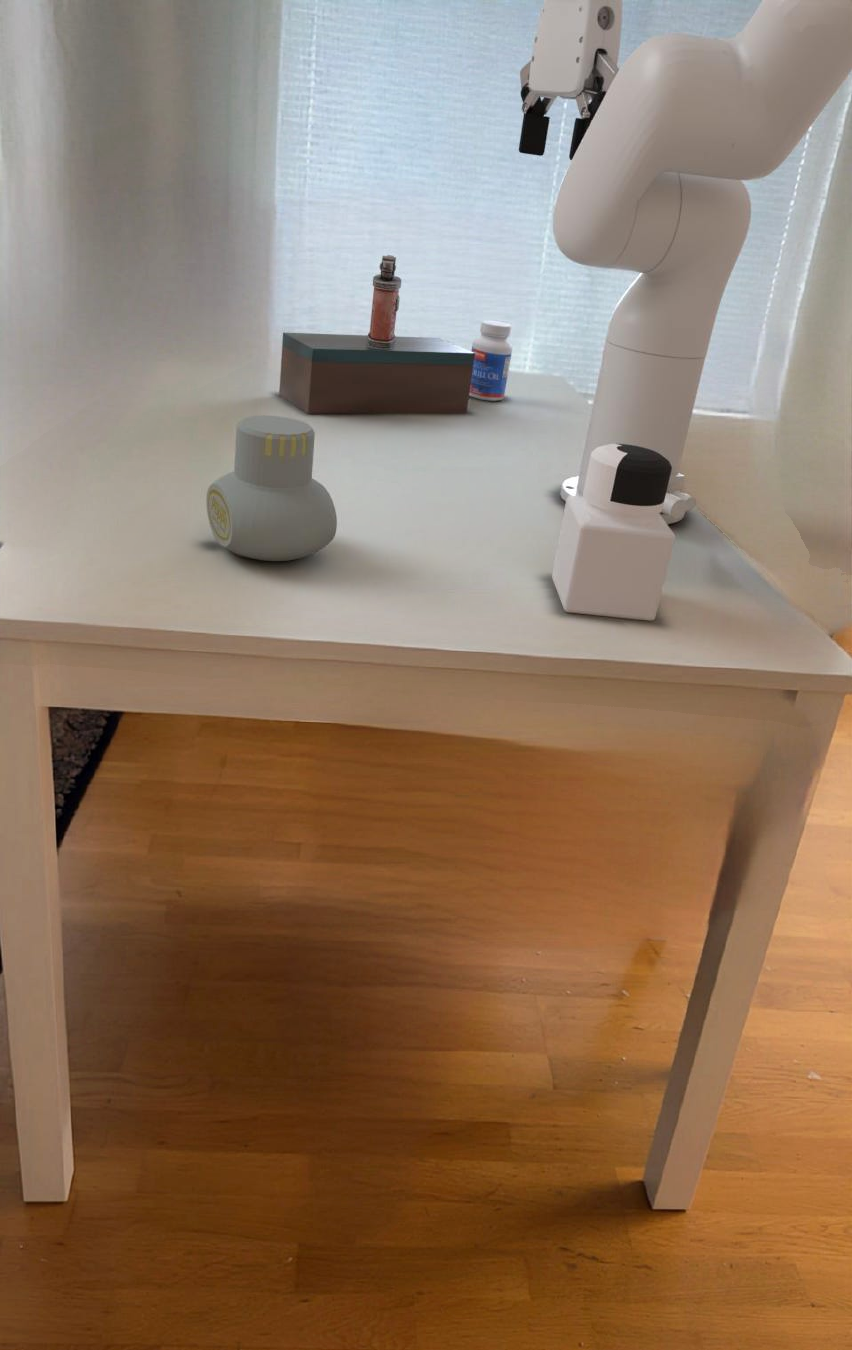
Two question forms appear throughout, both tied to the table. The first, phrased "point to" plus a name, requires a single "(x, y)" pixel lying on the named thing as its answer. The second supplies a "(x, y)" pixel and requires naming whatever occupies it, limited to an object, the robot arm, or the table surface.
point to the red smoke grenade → (384, 305)
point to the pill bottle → (491, 361)
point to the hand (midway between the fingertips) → (555, 158)
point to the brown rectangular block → (374, 375)
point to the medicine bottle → (616, 536)
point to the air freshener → (272, 494)
